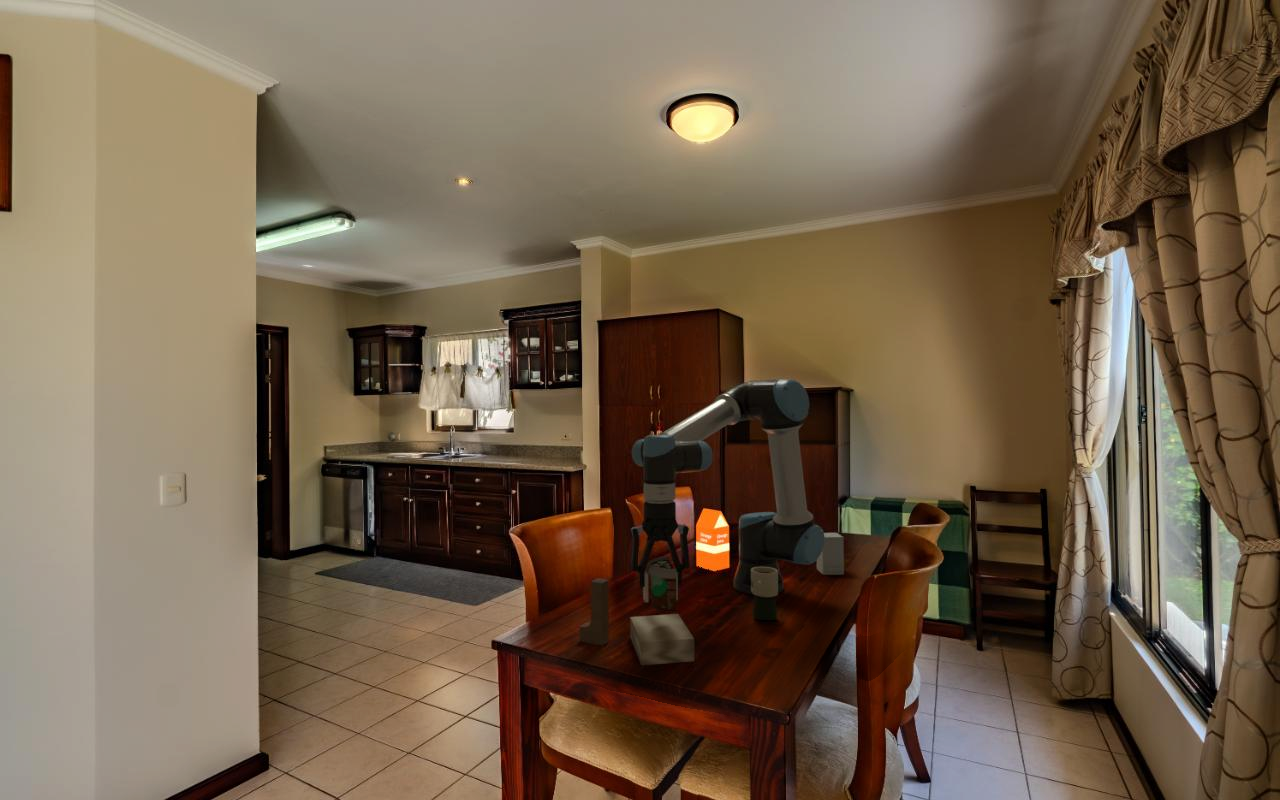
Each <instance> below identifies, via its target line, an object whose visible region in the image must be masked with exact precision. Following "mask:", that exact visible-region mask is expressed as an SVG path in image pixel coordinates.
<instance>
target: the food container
mask: <svg viewBox="0 0 1280 800" xmlns="http://www.w3.org/2000/svg"><path fill="white" fill-rule="evenodd" d="M670 557H671V555H669V556H659V557H655V558H652V559H651V560H650V559H649V560H650V561H648V564H647V567H646V571H647V573H648V575H649V580H650V581H649V583H650V593H651V606H652V608H653V609H656V610H657V611H661V612H667V613H668V612H669V613H677V600H676V579H677V573H676V569H675V567H674V566H673V564H672V563H671V560H670V559H671V558H670Z"/></svg>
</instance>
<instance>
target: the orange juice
mask: <svg viewBox="0 0 1280 800" xmlns="http://www.w3.org/2000/svg"><path fill="white" fill-rule="evenodd" d="M695 525H696V526H695V528H696V529H695V531H696V533H695V534H696V535H695V537H696V538H695V539H696V542H695V544H696V545H695V549H696V551H695V552H696V567H698V566H699V567H698V568H701V567H702V569H705V570H708V569H709V571H713V572H716V571H717V570H718V571H721V570H725V569H729V568H730V525H729V524H728V522H727V520H726V518H725V516H724V514H723V513H722V511H721V510H716V509H710V508H703V509H702V511H701V513H700V515H699V518H698V520H697V522H696V524H695Z"/></svg>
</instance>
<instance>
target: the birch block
mask: <svg viewBox="0 0 1280 800" xmlns="http://www.w3.org/2000/svg"><path fill="white" fill-rule="evenodd" d="M629 622H630V627H629V628H630V629H629V632H630V639H631V643H632V644H633V645H632V646H633V648H634V650H635V654H636V655H637V657H638V660H639V663H640V665H641V666H651V665H663V664H673V663H675V664H676V663H686V662H687V663H688V662H695V637H694V636H693V634H692V633H691V632H690V630H689V628H688V627H687V625H686V624H685V622H684V621H683V619H682V618H681V616H680V615H679V614H678V613H670V614H659V615H658V614H657V615H642V616H639V615H638V616H631V617H629Z"/></svg>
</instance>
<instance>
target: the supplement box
mask: <svg viewBox="0 0 1280 800" xmlns="http://www.w3.org/2000/svg"><path fill="white" fill-rule="evenodd" d="M844 544H845V543H844V536H842V535H841V534H840V533H838V532H824V546H823V550H822V552H821V554H820V556H819V558H818V559H817V560H816V570H817V571H819V572H820V574H822V575H823V576H824V575H825V576H835V575H837V576H840V575H841V576H843V575H844V574H845V555H844V554H845V550H844V549H845V548H844ZM844 576H845V575H844Z"/></svg>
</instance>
